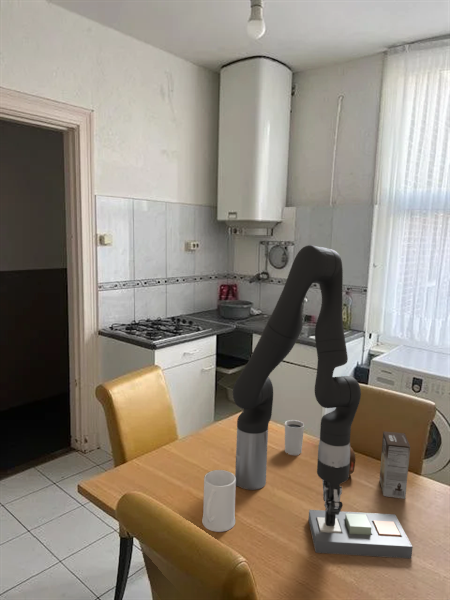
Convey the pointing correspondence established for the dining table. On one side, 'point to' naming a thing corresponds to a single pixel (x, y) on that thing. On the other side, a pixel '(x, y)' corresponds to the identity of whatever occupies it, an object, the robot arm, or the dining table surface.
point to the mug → (219, 500)
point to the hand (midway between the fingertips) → (329, 524)
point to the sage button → (357, 524)
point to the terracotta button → (386, 528)
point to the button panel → (360, 538)
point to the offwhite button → (328, 529)
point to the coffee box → (394, 464)
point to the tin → (352, 461)
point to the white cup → (293, 437)
